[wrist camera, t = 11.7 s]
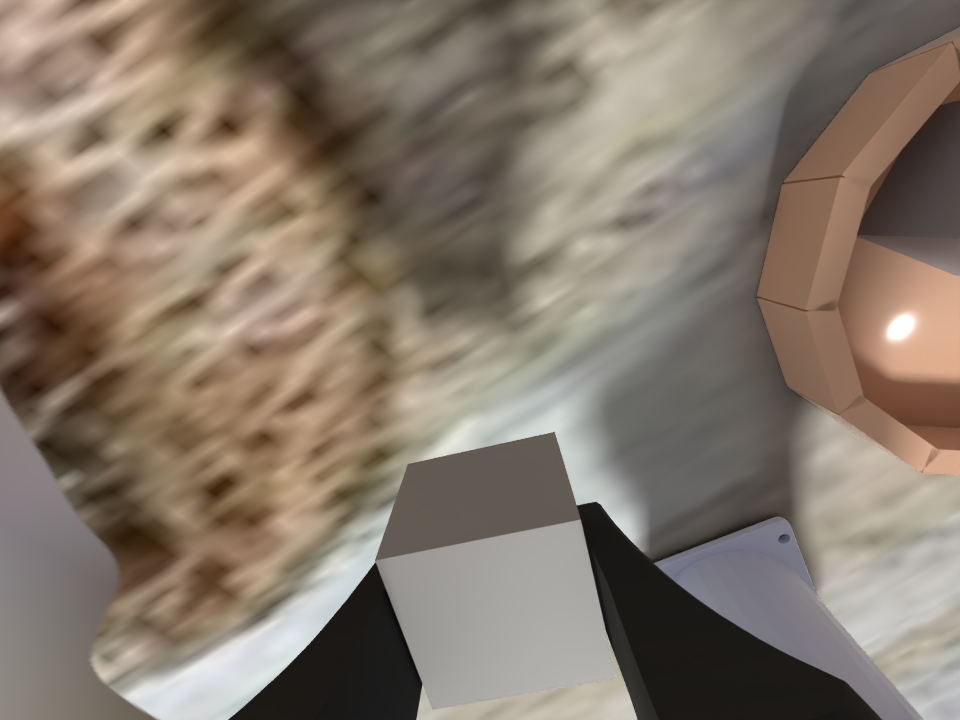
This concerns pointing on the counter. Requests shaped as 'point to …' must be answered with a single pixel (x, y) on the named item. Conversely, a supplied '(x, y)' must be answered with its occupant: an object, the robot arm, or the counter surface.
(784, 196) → the bowl
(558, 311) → the counter surface
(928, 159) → the grey cube
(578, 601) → the grey cube
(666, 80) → the counter surface
